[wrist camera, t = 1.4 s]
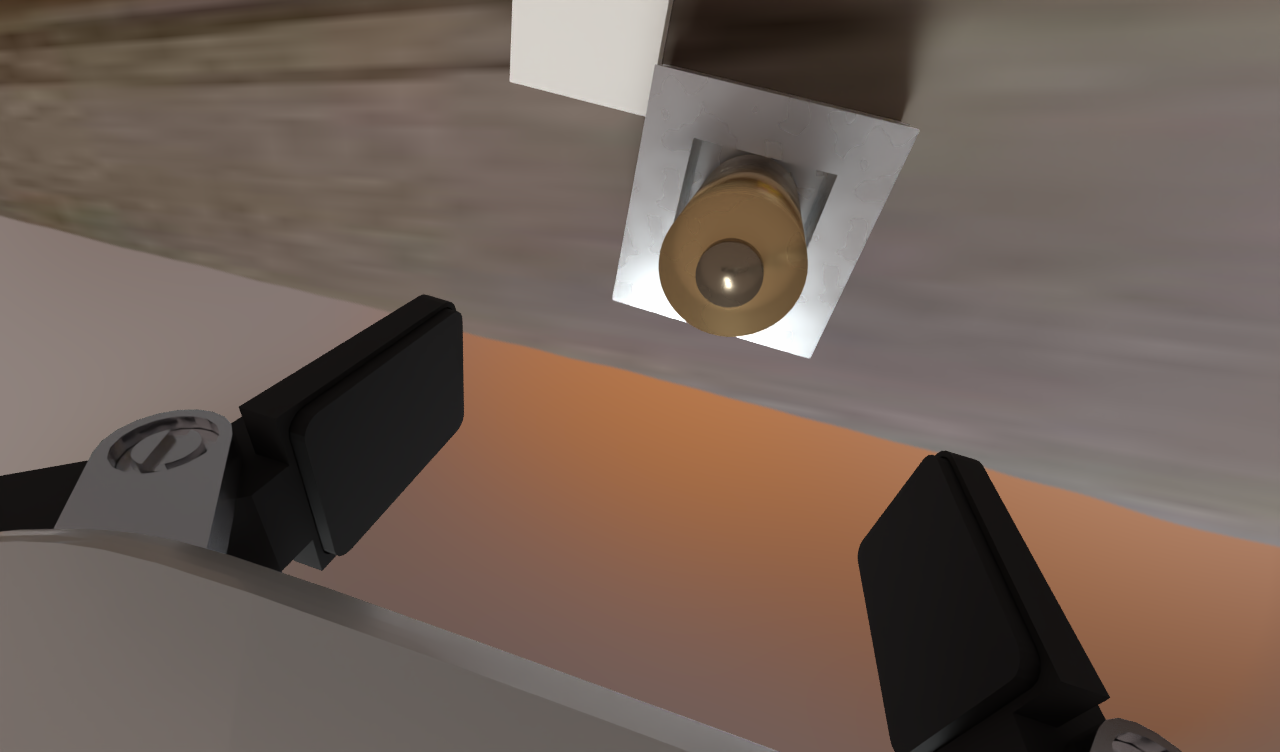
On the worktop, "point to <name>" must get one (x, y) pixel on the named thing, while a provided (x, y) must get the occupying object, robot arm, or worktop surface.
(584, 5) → the tile
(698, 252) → the tan capped cylinder
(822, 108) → the housing
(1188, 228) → the worktop surface
